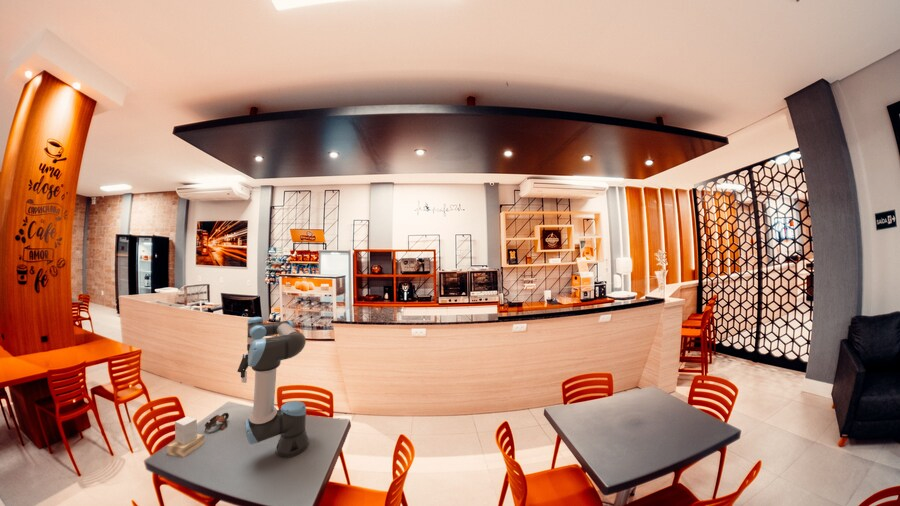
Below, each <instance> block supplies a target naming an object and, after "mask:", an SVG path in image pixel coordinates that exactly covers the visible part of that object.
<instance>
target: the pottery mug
mask: <svg viewBox="0 0 900 506" xmlns="http://www.w3.org/2000/svg"><path fill="white" fill-rule="evenodd" d="M229 417H230V415H229V413H228V412H224V413H222V414H221V415H220V414H216V415H215V416H213V417H211V418H210V419H209V421H207V422H205V424H204V427H205V429H204V430H206V431H207V430H211V427H215V426H217V422H218V423H220V424H221V423H222V424H223V425H222V426H221V427H220V428H221V430H222V431H224V430H225V429H226V428H227V426H228V419H229Z"/></svg>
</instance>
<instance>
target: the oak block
mask: <svg viewBox="0 0 900 506" xmlns="http://www.w3.org/2000/svg"><path fill="white" fill-rule="evenodd" d="M204 444H205V434H201V433H197V439H195V440H193V441H191V442H189V443H187V444H185V445H183V444H180V443H178V442H176V441H175V440H173V442H171V443H168V444H167V445H166V455H167V454H168V455H167V456H173V457H180V458H185V457H186V456H188V455H189V454H191V453H192V452H194V451H195V450H197V449H199V447H201V446H202V445H204Z"/></svg>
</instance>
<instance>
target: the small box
mask: <svg viewBox="0 0 900 506" xmlns="http://www.w3.org/2000/svg"><path fill="white" fill-rule="evenodd" d="M197 422H198V421H197V418H194V417H193V416H192V417H191V416H189V415H187V416H185V417H183V418H180V419H178V420H176V421H175V422H174V429H175V430H174V433H175V435H174V436H175V437H174V441H176V442H178V443H180V444H183V445H185V444H187V443H189V442H191V441H193V440H195V439H197V434H198V432H197V431H198V430H197V428H198V426H197Z"/></svg>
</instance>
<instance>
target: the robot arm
mask: <svg viewBox="0 0 900 506" xmlns="http://www.w3.org/2000/svg"><path fill="white" fill-rule="evenodd" d="M294 327H295V326H294V322H293V320H283V321H275V322H274V321H273V322H267V323H264V321H263V317H262V316H261V317H260V316H254V317H249V318H248V319H247V335H246V336H247V337H246V338H247V339H246V341H247V344H246V350H247V353H244V354H242V358H241V361H240V364H239V366H238V369H237V371H236V372H237V373H240V378H241V383H242V384H244V383H245V384H246V383H247V381H248V380H247V379H248V377H247V376H248V375H247V374H248V373H247V372H248V371H246V370H247V369H248V368H249V367H250V368H251V369H252V371H254V373H255V374H254V389H253V390H254V391H253V392H254V393H253V410H252V412H250V415H249V416H248V418H247V419H246V420H245V421H244V424H245V432H246V437H247V443H248V444H249V445H254V444H258V443H260V442H263V441H267V440H269V439H271V438H275V437H277V436H279V440H278V442H277V444H276V448H275V453H276V456H278V458H279V457H280V458H287V459H288V458H292V457H295V456H297V455H299V454H302V453H303V452H304V451H305V450H306V449H307V448H308V446H309V444H310V443H309V441H310V440H309V436H308V435H307V430H306V422H307V421H306V419H307V418H306V416H307V409H306V404H305V403H304V402H302V401H299V400H291V401H287V402H285V403H284V404H282V405H281V407H280V409H277V408H276V407H275V399H276V398H275V396H276V395H275V394H276V381H277V369H278V368H279V367H280V365H281V361H284V360H285V361H286V360H288V359H292V358H294V357H296V356H298V355H299V354H300V353H301V352H302V351H303V349H304V348H305V346H306V336H305V335H304V334H303V333H302V332H300V331H297V330H296V329H295V328H294ZM271 336H272V337H271ZM265 337H266V338H265Z"/></svg>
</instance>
